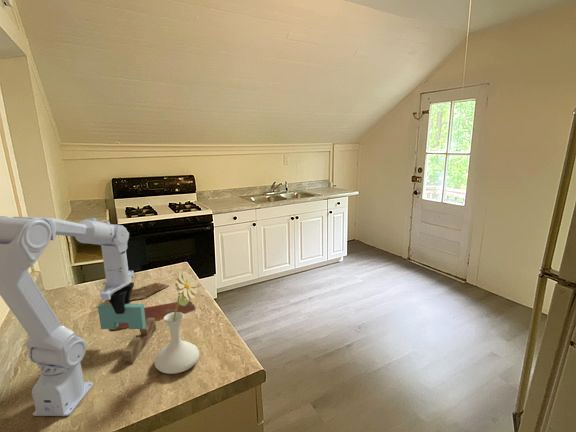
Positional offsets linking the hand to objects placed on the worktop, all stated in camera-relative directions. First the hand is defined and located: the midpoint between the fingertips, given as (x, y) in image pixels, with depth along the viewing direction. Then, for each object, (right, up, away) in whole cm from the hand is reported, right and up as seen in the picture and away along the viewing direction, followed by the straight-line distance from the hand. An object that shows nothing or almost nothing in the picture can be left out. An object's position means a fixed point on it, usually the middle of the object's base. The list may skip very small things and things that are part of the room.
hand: (122, 310), depth 93 cm
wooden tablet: (+2, -7, +18) cm, 19 cm away
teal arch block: (0, -5, +1) cm, 5 cm away
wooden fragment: (-11, -4, +31) cm, 33 cm away
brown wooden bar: (+5, -10, +1) cm, 12 cm away
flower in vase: (+18, -12, -5) cm, 23 cm away
